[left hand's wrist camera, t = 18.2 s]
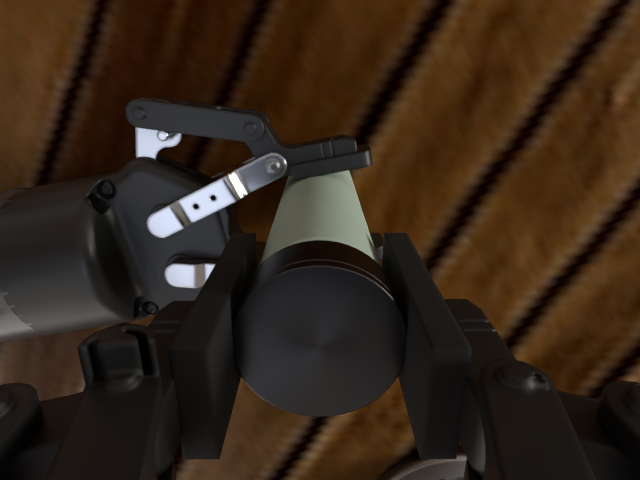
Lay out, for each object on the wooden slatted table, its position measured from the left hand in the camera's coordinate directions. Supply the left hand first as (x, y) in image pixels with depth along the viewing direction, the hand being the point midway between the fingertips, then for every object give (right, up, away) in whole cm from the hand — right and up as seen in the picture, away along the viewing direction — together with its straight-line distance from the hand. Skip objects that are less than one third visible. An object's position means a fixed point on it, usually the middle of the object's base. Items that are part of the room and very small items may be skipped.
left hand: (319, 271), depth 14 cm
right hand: (+3, +3, +6) cm, 8 cm away
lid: (0, -1, -4) cm, 4 cm away
